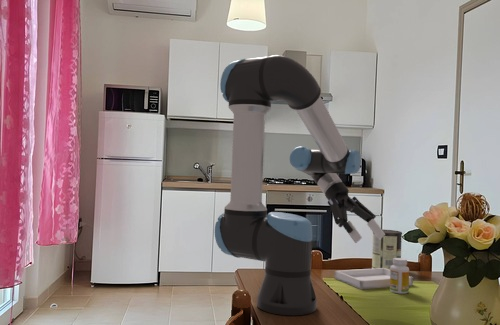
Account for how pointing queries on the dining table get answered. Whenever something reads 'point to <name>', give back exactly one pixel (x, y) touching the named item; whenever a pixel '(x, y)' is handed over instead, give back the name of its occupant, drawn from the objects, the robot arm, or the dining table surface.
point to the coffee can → (386, 249)
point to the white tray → (367, 278)
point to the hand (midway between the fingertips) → (370, 238)
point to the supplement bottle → (399, 276)
